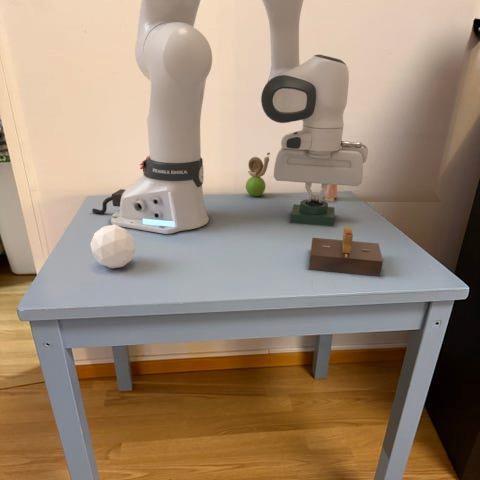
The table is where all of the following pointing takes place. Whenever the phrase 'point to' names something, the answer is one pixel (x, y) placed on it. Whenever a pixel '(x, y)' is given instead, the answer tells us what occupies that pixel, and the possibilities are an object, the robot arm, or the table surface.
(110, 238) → the geometric ball
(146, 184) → the robot arm
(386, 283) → the table surface
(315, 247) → the plate
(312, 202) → the bell button
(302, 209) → the block
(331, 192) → the grandmother figurine
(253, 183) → the snail figurine
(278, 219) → the table surface
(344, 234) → the lock turn
